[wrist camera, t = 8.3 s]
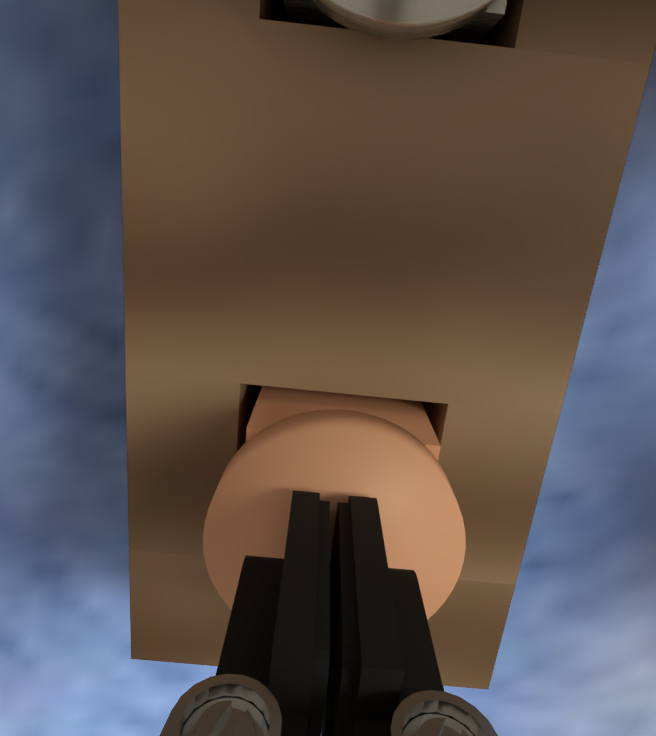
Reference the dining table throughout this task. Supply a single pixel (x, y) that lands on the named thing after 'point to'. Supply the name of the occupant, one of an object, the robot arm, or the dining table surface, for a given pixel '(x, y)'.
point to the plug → (402, 17)
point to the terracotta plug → (337, 484)
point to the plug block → (360, 264)
